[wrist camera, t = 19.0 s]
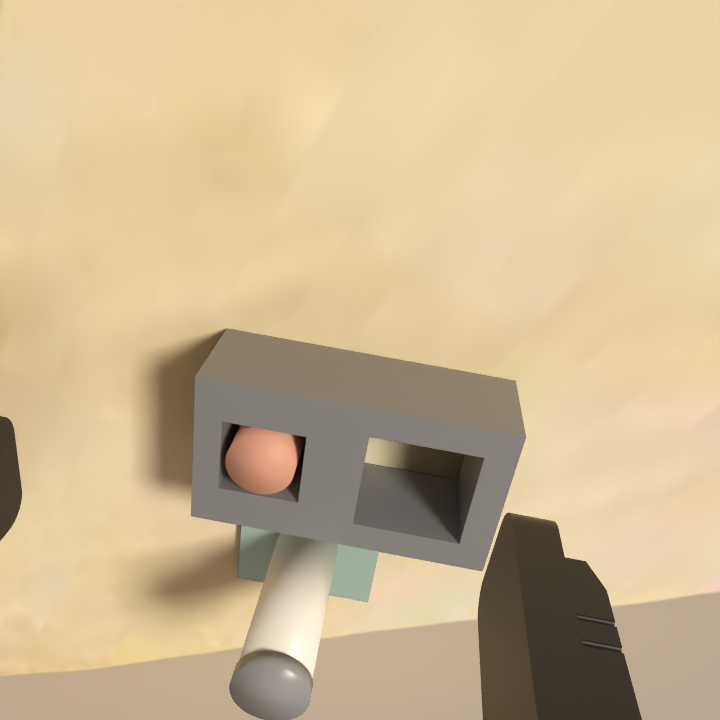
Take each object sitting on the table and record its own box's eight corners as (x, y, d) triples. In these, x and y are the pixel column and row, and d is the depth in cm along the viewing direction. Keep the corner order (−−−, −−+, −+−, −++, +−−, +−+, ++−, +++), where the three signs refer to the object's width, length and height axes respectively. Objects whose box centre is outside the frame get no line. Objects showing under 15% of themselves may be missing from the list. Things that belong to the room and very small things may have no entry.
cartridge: (274, 564, 50) (228, 713, 39) (277, 516, 48) (229, 659, 37) (336, 574, 49) (307, 727, 39) (341, 526, 47) (312, 673, 37)
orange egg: (249, 429, 45) (223, 487, 39) (253, 378, 43) (227, 431, 37) (309, 440, 44) (290, 500, 39) (315, 389, 43) (297, 444, 37)
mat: (239, 571, 51) (237, 577, 51) (246, 479, 47) (244, 485, 46) (368, 596, 51) (367, 602, 51) (387, 506, 47) (387, 511, 46)
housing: (219, 457, 46) (190, 515, 41) (226, 328, 42) (195, 376, 36) (478, 505, 46) (482, 571, 41) (515, 380, 41) (525, 437, 36)
